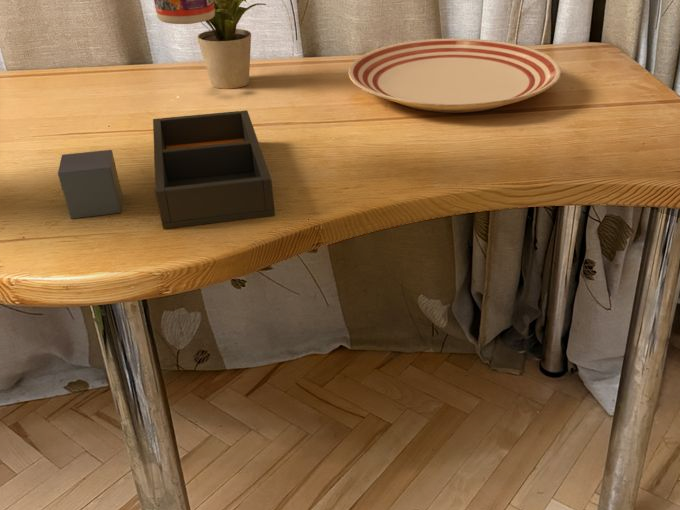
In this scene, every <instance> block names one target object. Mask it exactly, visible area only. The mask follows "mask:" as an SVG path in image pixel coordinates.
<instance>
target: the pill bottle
mask: <svg viewBox="0 0 680 510" xmlns="http://www.w3.org/2000/svg"><path fill="white" fill-rule="evenodd" d="M153 2H154V7H155V11H156V17H157V19H158V20H159V21H160V22H162V23H165V24H170V25H192V24H198V23H201V22H202V23H203V22H205V21H207V20H208V21H209V19H211V18H213V17H214V15H215V9H214V1H213V0H153Z"/></svg>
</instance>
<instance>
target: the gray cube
mask: <svg viewBox="0 0 680 510" xmlns="http://www.w3.org/2000/svg"><path fill="white" fill-rule="evenodd" d="M59 161H60V162H59V166H58V171H57V176H58V179H59V183H60V186H61V190H62V193H63V197H64V199H65V204H66V207H67V211H68V214H69V218H70V219H71V220H72V219H81V218H88V217H98V216H105V215H114V214H122V205H123V192H122V187H121V183H120V178H119V174H118V170H117V164H116V161H115V157H114V153H113V150H112V149H106V150H104V149H103V150H95V151H86V152H75V153H64V154H62V155H61V157H60V160H59Z"/></svg>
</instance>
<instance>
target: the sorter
mask: <svg viewBox="0 0 680 510" xmlns="http://www.w3.org/2000/svg"><path fill="white" fill-rule="evenodd" d="M152 130H153V131H152V132H153V133H152V134H153V159H154V160H153V161H154V187H155V189H154V190H155V191H154V192H155V196H156V200H157V206H158V212H159V216H160V221H161V225H162V230H166V229H167V230H168V229H174V228H175V229H176V228H183V227H191V226H200V225H208V224H217V223H224V222H225V223H226V222H232V221H233V222H234V221H241V220H251V219H257V218H266V217H273V216H276V210H275V201H274V191H273V184H272V183H273V182H272V178H271V173H270V172H269V168H268V165H267V163H266V160H265V157H264V154H263V151H262V148H261V146H260V142H259V140H258V136H257V134H256V131H255V128H254V126H253V123H252V119H251V117H250V114H249V111H248V110H236V111H225V112H224V111H223V112H212V113H202V114H191V115H181V116H169V117H161V118H160V117H159V118H153V119H152Z"/></svg>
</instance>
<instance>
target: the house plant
mask: <svg viewBox="0 0 680 510" xmlns="http://www.w3.org/2000/svg"><path fill="white" fill-rule="evenodd" d="M213 1H214V9H215V15H214V17H213V18H211V19H209V20H207V21H204V22H206V24H207V25H208V26H209V28H208V30H206V31H202V32H200V33H198V34H197V37H196V40H197V42H198V46H199V49H200V52H201V56H202V59H203V62H204V65H205V69H206V71H207V75H208V78H209V82H210V84H211V86H212V87H213V88H217V89H227V90H229V89H231V90H232V89H238V88H242V87H245V86H247V85H249V83H250V69H251V68H250V67H251V50H252V49H251V47H252V46H251V45H252V32H251V31H249V30H246V29H242V28H237V25H238V24H239V22H240V20H241V18H242V17H243V15H244V14H246V12H247V11H248V10H250V9H251V8H253V7H256V6H267V7H269V5H267V3H263V2H262V3H254V4H251V5H249V6H247V7H243V6H241V4H242V3H243V2H245V3H247V0H213ZM200 23H201V24H202V25H203V26H204V27H205V28H207V25H205V24H204V23H203V22H200Z"/></svg>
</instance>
